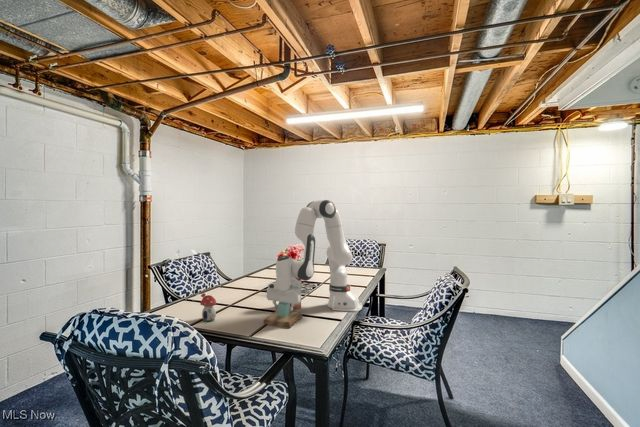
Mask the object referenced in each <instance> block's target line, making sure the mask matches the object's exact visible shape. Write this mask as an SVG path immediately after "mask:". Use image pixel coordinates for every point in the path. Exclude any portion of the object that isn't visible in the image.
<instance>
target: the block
mask: <svg viewBox="0 0 640 427" xmlns="http://www.w3.org/2000/svg"><path fill="white" fill-rule="evenodd" d="M277 305H278V308H277V310H278V316H281V317H287V316H288V315H289V314H290V310H289V307H290V303H287V302H280V303H277Z"/></svg>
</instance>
